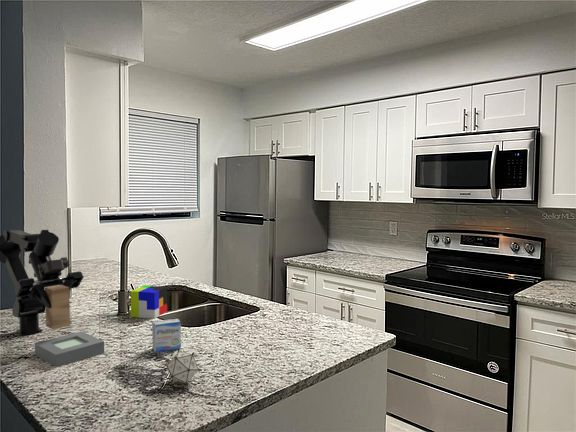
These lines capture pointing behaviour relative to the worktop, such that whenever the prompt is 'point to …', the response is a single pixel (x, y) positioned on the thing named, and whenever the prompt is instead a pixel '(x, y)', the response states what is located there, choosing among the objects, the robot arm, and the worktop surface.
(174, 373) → the game die
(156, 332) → the medicine box
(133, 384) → the worktop surface
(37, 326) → the robot arm
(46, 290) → the post
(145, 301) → the puzzle toy
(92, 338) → the base plate
